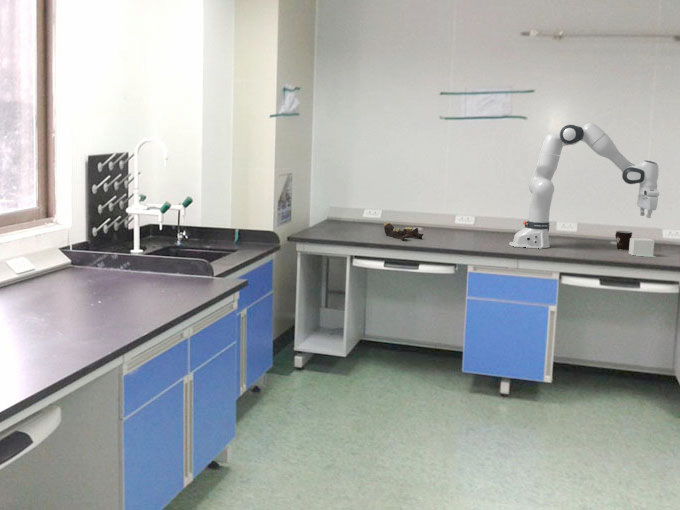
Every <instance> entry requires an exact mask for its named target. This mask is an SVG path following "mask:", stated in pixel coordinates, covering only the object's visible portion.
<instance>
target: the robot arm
mask: <svg viewBox="0 0 680 510" xmlns="http://www.w3.org/2000/svg"><path fill="white" fill-rule="evenodd" d="M579 142H583V143H585V144H586V145H587V146H588V147H589V148H590V149H591V150H592V151H593V152H594V153H596V154H597V155H598V156H601V157H603V158H606V159H607V160H609V161H611V162H612V163H613V164H614V165H615V166H616V167H617V168H618V170H620V171H621V173H622V174H621V177H622V178H621V179H622V180H623V181H624V182H625V183H626V184H628V185H635V184H639V188H638V189H639V190H638V195H637V200H636V205H637V207H639V212H640V214H639V215H640V216H642V217H643V216H645V215H646V218H647V219H650V218H651V217H652V214H653V211H656V210H657V209H658V208H657V206H658V201H659V196H660V192H659V189H658V179H659V172H660V171H659V170H660V169H659V165H658V164H657V162H655V161H651V160H643V161H642V162H640V163H637V164H634V163H631V162H630V160H628V159H627V158H626V157H625V156H624V155H623V153H621V152H620V151H619V149H618V148H617V146H616V144H615V143H614V141H613V140H612V139H611V137H610V136H609V135H608V134H607V133H606V132H605V131H604V130H603V129H602V128H601V127H600V126H599V125H597V124H595V123H593V122H588V123H586V124H584V126H578V125H575V124H567V125H564V126H563V127H562V128H561V130H560V132H559V133H549V134H547V135H546V136H545V138H544V139H543V143H542V145H541V148H540V152H539V154H538V159H537V164H536V165H535V169H534V171H533V173H532V176H531V179H530V181H529V184H528V189H529V192H530V193H531V194H532V198H531V201H530V202H531V203H530V205H529V214H528V220H527V221H525V220H523V222H522V224H523V225H524V227H523V228H521V229H520V230H519V231H517V232H516V233H515V234H514V236H513V241H509V243H508V244H509V246H510V247H513V246H514V247H515V248H523V247H526V249H538V248H539V249H541V250H542V249H546V248H550V247H551V246H550V241H549V231H550V210H551V206H552V205H551V204H552V201H553V195H554V192H555V186H554V183H553V182H552V180H553V177H554V175H555V172H556V171H557V169H558V164H559V162H560V161H559V160H560V157H561V153H562V150H563V148H564V147H566V146H575V145H576V144H578V143H579ZM645 210H647V214H645Z"/></svg>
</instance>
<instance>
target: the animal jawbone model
mask: <svg viewBox="0 0 680 510" xmlns="http://www.w3.org/2000/svg"><path fill="white" fill-rule="evenodd" d="M383 227H384V228H383V229H384V234H385V235H386V237H390V238H391V237H392V238H393V239H401V241H402V242H405V241H406V240H405V239H409V238H411V239H412V238H414V239H419V240H422V239H423V236H424V234H423V233H419V227H415V228H414V229H413V227H411V226H408V227H407V226H406V227H403V228H404V229H402V230H401V229H400V228H395V227H394V223H393V222H392V221H388V222H384V223H383Z"/></svg>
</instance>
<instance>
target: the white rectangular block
mask: <svg viewBox="0 0 680 510" xmlns="http://www.w3.org/2000/svg"><path fill="white" fill-rule="evenodd" d="M654 250H655V240H653V239H652V238H640V237H638V238H635V237H631V238H630V245H629V250H628V254H629V255H630V254H631V255H630V256H632V255H636V256H635V257H639V256H654Z"/></svg>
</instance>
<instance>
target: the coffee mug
mask: <svg viewBox="0 0 680 510" xmlns="http://www.w3.org/2000/svg"><path fill="white" fill-rule="evenodd" d="M614 236H615V239H616V249H617V250H619V249H623V250H622V251H629V250H628V249H629V245H630V238H633V231H628V230H616V232H615V235H614Z"/></svg>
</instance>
